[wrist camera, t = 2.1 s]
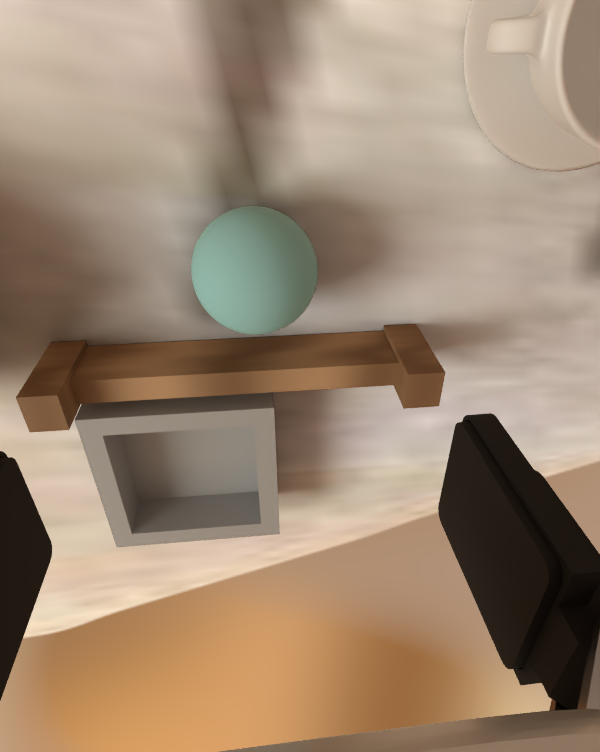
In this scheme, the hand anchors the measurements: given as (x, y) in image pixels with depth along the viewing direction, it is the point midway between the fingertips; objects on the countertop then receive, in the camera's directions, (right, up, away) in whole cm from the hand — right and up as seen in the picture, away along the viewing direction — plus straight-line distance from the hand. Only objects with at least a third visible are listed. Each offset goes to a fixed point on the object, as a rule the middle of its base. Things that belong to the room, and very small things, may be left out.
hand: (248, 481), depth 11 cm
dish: (-5, -2, +17) cm, 18 cm away
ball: (-1, +8, +11) cm, 14 cm away
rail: (-2, +4, +14) cm, 14 cm away
